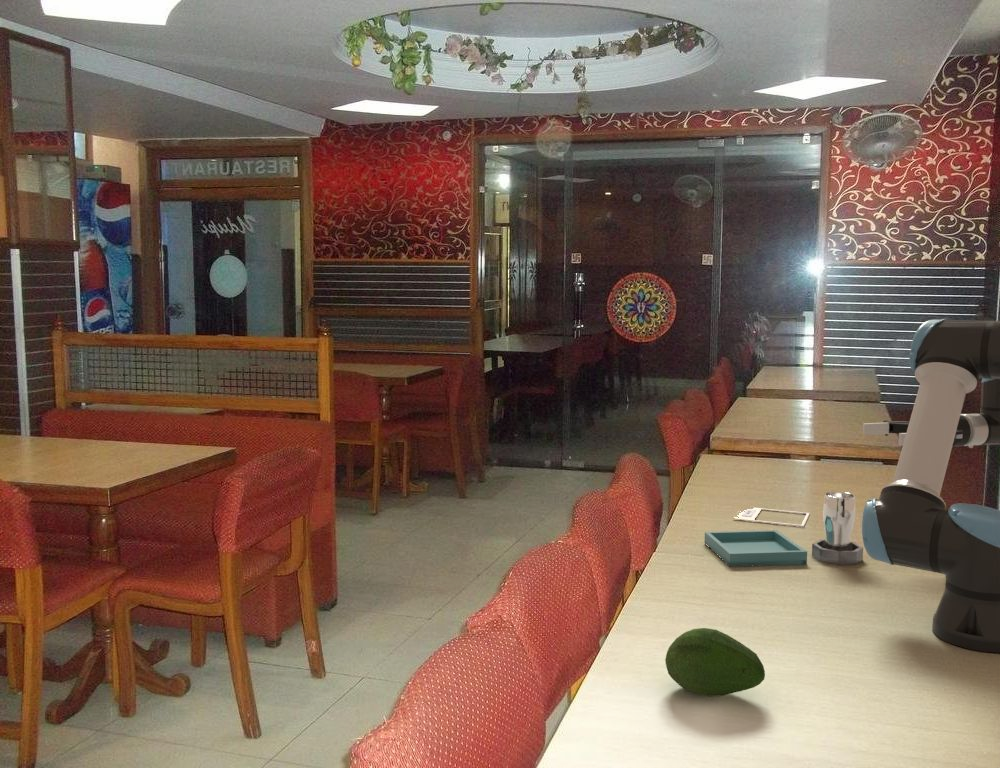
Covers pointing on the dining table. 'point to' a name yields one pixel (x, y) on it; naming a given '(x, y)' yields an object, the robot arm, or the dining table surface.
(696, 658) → the fruit
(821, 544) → the holder ring
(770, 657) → the dining table surface
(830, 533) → the silver metal tumbler
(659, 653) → the dining table surface
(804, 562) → the tray
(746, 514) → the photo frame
